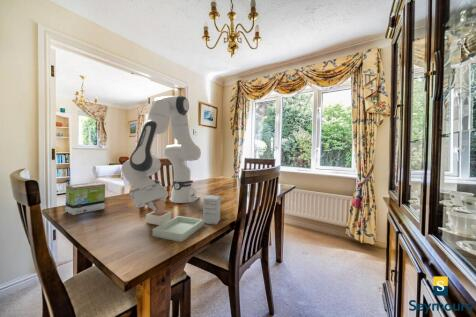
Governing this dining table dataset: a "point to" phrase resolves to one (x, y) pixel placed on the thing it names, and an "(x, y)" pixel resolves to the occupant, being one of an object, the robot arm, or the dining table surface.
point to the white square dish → (158, 218)
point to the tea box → (85, 197)
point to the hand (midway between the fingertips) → (160, 208)
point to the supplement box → (211, 209)
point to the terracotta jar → (159, 207)
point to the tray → (178, 228)
